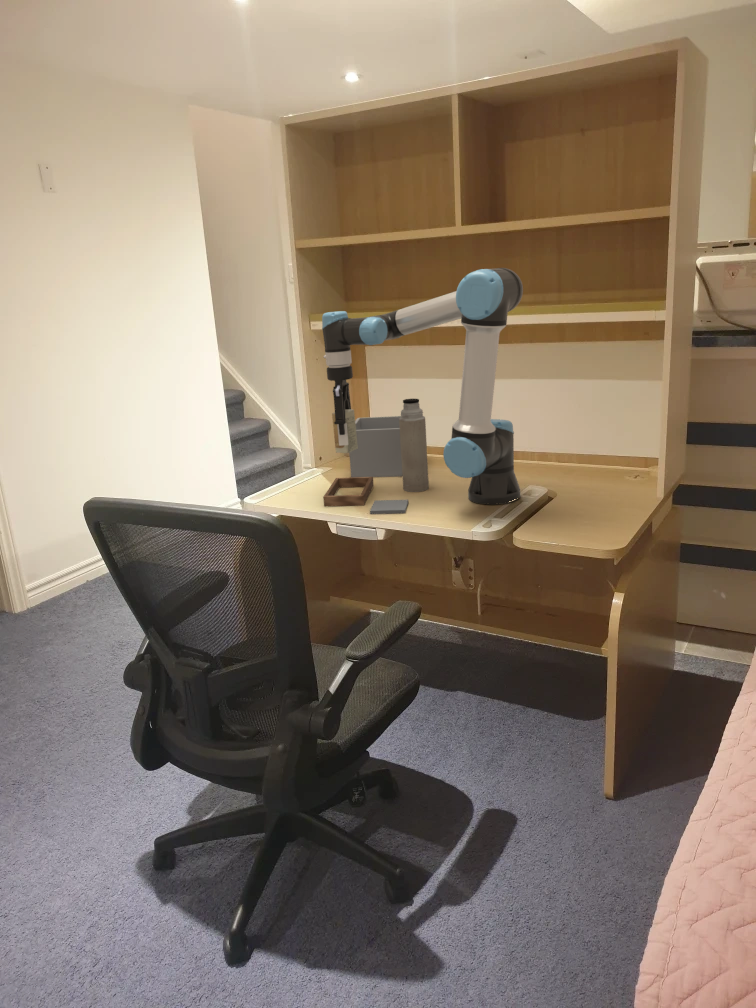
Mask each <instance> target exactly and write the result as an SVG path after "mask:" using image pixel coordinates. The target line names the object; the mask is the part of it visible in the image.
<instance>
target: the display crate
mask: <svg viewBox="0 0 756 1008" xmlns="http://www.w3.org/2000/svg"><path fill="white" fill-rule="evenodd" d="M399 418H401V415H395V416H392V415H391V416H369V417H357V418H355V425H356V435H357V445H358V449H356V450H353V451H351V452H349V453H348V454H349V466H350V467H349V468H350V477H373V478H387V477H403V476H402V460H401V444H400V428H399Z"/></svg>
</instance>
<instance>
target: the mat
mask: <svg viewBox="0 0 756 1008" xmlns="http://www.w3.org/2000/svg"><path fill="white" fill-rule="evenodd" d="M408 505H409V499H385V500H384V499H383V500H380V499H379V500H378V499H377V500H376V499H375V500H374V501H373V503H372V505H371V508H370V510H369V514H370V515H388V514H389V515H391V514H393V515H395V514H400V515H401V514H406V512H407V509H408Z"/></svg>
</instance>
